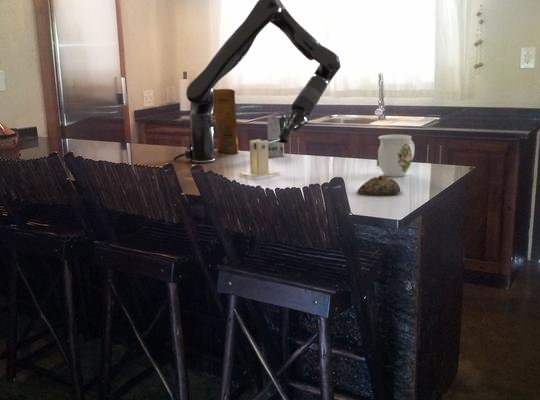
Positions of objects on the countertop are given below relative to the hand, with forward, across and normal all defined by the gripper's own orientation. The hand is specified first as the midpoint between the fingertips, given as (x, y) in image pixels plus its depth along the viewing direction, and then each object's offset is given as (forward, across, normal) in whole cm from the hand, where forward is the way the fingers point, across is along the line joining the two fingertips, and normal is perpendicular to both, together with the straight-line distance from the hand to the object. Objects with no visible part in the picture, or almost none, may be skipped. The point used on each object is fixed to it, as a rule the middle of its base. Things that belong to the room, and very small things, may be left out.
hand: (281, 138), depth 232 cm
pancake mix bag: (+1, -52, +16) cm, 55 cm away
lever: (+6, 0, -2) cm, 6 cm away
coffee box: (-5, -29, +23) cm, 37 cm away
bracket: (+16, 0, +1) cm, 16 cm away
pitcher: (-8, +32, +26) cm, 42 cm away
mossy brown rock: (+8, +46, +10) cm, 47 cm away
